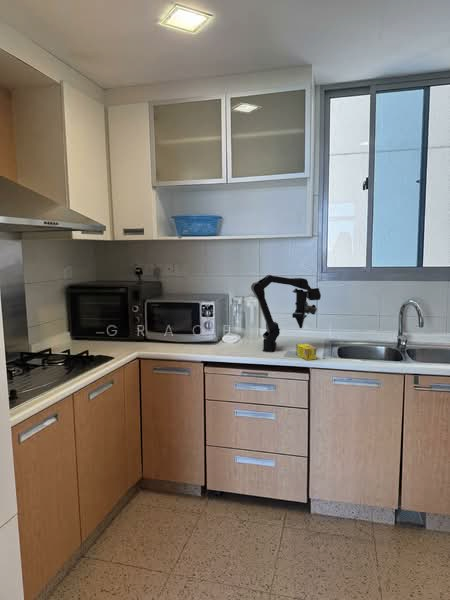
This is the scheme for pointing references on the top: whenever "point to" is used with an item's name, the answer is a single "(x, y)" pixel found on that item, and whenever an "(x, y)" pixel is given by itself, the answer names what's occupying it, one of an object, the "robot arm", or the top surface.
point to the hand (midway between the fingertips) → (300, 328)
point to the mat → (291, 354)
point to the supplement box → (306, 351)
